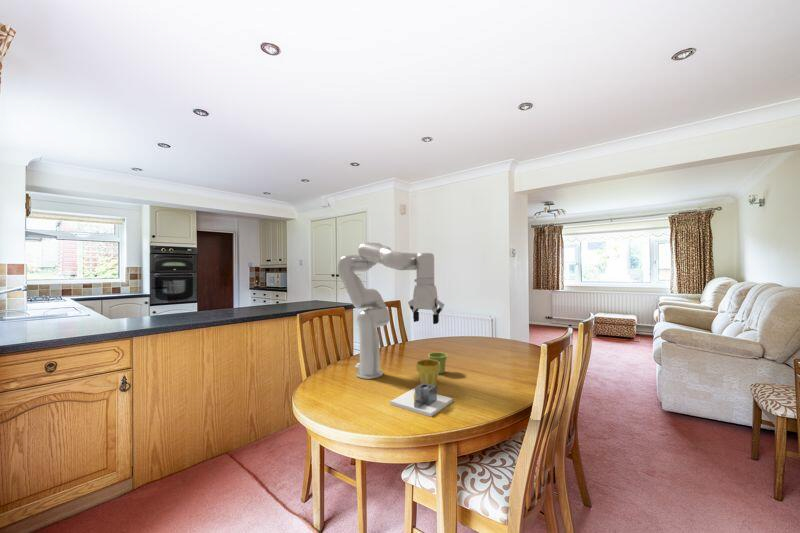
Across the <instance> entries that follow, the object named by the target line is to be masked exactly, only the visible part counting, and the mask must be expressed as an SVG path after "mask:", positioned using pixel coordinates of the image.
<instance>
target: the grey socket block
mask: <svg viewBox="0 0 800 533" xmlns="http://www.w3.org/2000/svg"><path fill="white" fill-rule="evenodd" d="M423 387H429V388H428V389H425V388H423ZM437 388H438V386H437V385H431V384H426V383H422V384H421V383H420V384H418V385H417V386H415V388H414V389H415V393H416V394H417V401H416V402H414V407H415V408H420V407H421V406H423V405H428V406H430V405H431V404H432V403H434V402H435V401H437V394H438V389H437Z"/></svg>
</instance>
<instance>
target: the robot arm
mask: <svg viewBox="0 0 800 533" xmlns="http://www.w3.org/2000/svg"><path fill="white" fill-rule="evenodd" d="M357 252H358V254H346V255H343V256H342V257H340V259H339V260H338V263H337V273H338V276H339V278H340V280H341V283H342V284H343V285H344V287H345V289H346V292H347V294H348V296H349V298H350V301H351V303H352V306H353V307H354V308H355V309H358V310H362V309H363V310H362V311H360V312H359V313H358V315H357V320H356V322H357V327H358V333H359V334H358V335H359V362H357V363H356V364H355V365H354V368H355V369H357V372H356V377H358V378H360V379H364V380H368V379H369V380H373V379H379V378H380V377H382V376H383V374H384V371H383V370H381V369H380V366H381V365H380V362H381V360H380V359H381V358H380V351H381V350H380V335H379V332H378V330H377V328H380V327H384V326H386V325H388V324H389V323H390V318H391V315H390V312H389V310H388V308H387V305H386V303H385V301H384V299H383V296H382V295H381V293H380V292H379V291H378V290H377V289H375V288H366V287H365V286H364V283H363V281H362V279H361V278H360V277H359V276H358V274H356V272H357V273H358V272H360V273H361V272H367V271H369V270H371V269H372V268H373V267H375V265H377V264H381V265H383V266H385V267H387V268H390V269H393V270H397V271H416V279H414V282H415V285H414V287H413V288H414V289H413V295H412V299H410V300H409V301H408V302H407V303H408V305H409V306H408V307H409V308H410V310H411V313H412V316H413V317H412V318H413V322H414V323H417V322H419V321H420V312H419V310H428V311H429V310H431V311H432V312H433V315H432V324H433V325H437V324H439V321H440V319H439V318H440V317H439V316H440V315H439V314H440V313H442V311H443V309H444V307H445V304H444V302H442V301H440V300H439V299H438V298H439V296H438V292H437V291H438V290H437V286H436V285H435V255H434V254H433V253H431V252H419V253H416V252H415V253H414V252H401V251H396V250H392V249H391V247H390V246H386V245H383V244H381V243H379V242H369V241H367V242H362V243H361V244H360V245H359V246H358V248H357Z"/></svg>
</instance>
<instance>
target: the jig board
mask: <svg viewBox="0 0 800 533" xmlns="http://www.w3.org/2000/svg"><path fill="white" fill-rule="evenodd" d="M414 393H415V388H412V389H410V390H408V391H406V392H405V393H403V394H402V393H401V395H399V396H397V397H395V398H394V399H391V400H390V401H389V403H390V406H391V405H392V406H395V407H398V408H401V409H404V410H408V411H411V412H414V413H416V414H420V415H424V416H427V417H430V418H432V417H433V416H434V415H436V414H437V413H439V412H440V411H441V410H443V409H444V408H445V407H447V406H448V405H450V404H451V403H452V402H453V401H454V400H453V399H454V398H453V397H449V396H445V395H441V394H438V393H437V401H435V402H434V403H432V404H431V405H430V406H428V405H423V406H421V407H420V408H415V407H414Z"/></svg>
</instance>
